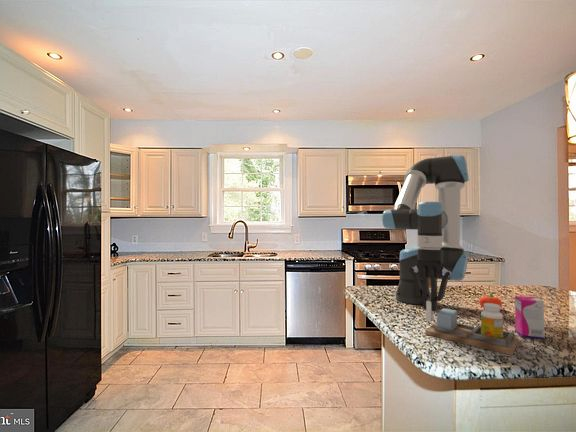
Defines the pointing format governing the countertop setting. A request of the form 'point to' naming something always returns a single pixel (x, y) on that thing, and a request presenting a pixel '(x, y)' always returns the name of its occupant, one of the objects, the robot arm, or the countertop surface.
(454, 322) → the block
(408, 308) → the countertop surface
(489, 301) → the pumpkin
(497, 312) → the supplement bottle
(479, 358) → the countertop surface
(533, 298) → the supplement box
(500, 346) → the brown tray with rails
